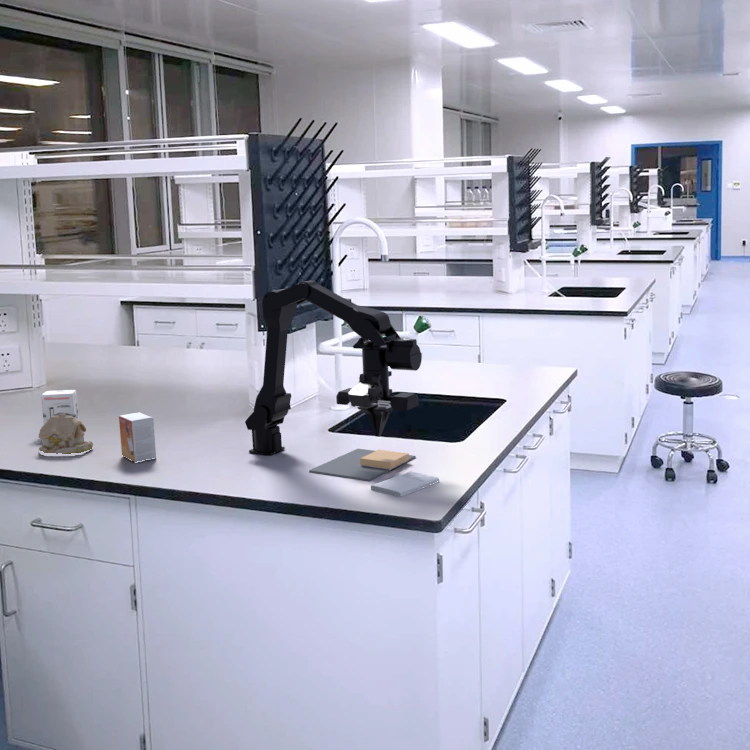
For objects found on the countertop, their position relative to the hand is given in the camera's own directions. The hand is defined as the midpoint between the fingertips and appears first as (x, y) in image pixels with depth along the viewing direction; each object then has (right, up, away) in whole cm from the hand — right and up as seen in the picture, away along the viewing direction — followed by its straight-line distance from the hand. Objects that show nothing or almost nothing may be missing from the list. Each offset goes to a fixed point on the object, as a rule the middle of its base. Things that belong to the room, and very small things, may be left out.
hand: (378, 436), depth 203 cm
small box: (-58, -7, +14) cm, 60 cm away
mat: (-3, -7, +1) cm, 7 cm away
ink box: (-86, -2, +42) cm, 96 cm away
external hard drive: (+6, -10, -15) cm, 19 cm away
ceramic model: (-79, -6, +24) cm, 82 cm away
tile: (-2, -5, +2) cm, 6 cm away
